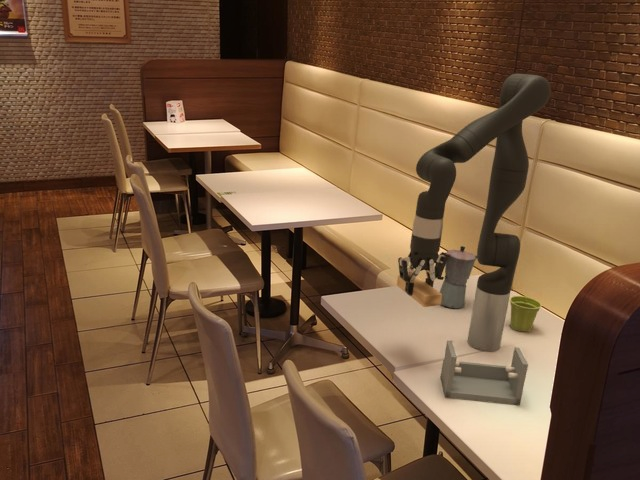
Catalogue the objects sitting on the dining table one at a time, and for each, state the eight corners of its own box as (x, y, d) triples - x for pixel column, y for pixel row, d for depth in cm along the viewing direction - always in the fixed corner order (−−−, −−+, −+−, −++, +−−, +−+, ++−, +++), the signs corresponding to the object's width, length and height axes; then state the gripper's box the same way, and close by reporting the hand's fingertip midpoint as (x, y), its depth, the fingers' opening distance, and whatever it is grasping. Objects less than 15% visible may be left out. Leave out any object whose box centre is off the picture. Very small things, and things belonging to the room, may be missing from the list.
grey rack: (440, 377, 163) (446, 338, 159) (510, 384, 162) (518, 345, 159) (445, 397, 154) (451, 356, 150) (519, 404, 153) (528, 364, 150)
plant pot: (512, 318, 202) (517, 293, 199) (540, 328, 196) (546, 302, 193) (499, 327, 195) (504, 301, 192) (529, 337, 189) (534, 311, 186)
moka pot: (477, 308, 207) (488, 250, 201) (437, 312, 201) (446, 252, 195) (461, 296, 215) (470, 240, 209) (422, 299, 210) (430, 242, 203)
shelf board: (412, 283, 175) (413, 273, 174) (440, 305, 163) (442, 294, 162) (396, 285, 173) (397, 275, 172) (423, 307, 161) (425, 296, 160)
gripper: (442, 226, 168) (433, 285, 173) (395, 229, 162) (387, 290, 168) (458, 235, 161) (448, 296, 167) (410, 239, 156) (401, 302, 161)
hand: (418, 293), depth 167 cm, fingers closed on shelf board, 5 cm apart
